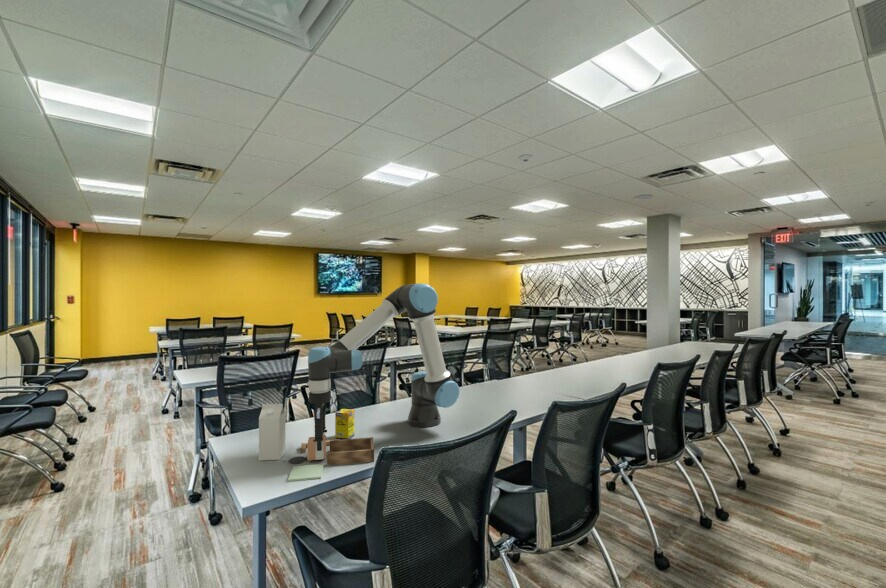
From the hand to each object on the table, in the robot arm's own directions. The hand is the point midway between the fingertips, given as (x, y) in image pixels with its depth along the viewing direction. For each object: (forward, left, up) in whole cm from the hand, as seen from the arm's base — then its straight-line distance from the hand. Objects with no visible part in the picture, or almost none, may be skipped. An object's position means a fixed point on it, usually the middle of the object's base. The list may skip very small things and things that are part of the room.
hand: (320, 455), depth 145 cm
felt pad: (+3, +12, -1) cm, 12 cm away
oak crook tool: (+1, -11, -1) cm, 11 cm away
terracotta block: (+1, 0, 0) cm, 1 cm away
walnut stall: (-11, 0, -1) cm, 11 cm away
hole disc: (+8, 0, -1) cm, 8 cm away
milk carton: (+17, -5, -1) cm, 18 cm away
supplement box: (-8, -20, -1) cm, 22 cm away
